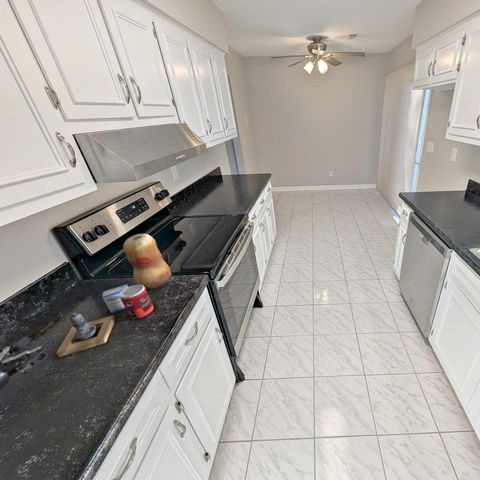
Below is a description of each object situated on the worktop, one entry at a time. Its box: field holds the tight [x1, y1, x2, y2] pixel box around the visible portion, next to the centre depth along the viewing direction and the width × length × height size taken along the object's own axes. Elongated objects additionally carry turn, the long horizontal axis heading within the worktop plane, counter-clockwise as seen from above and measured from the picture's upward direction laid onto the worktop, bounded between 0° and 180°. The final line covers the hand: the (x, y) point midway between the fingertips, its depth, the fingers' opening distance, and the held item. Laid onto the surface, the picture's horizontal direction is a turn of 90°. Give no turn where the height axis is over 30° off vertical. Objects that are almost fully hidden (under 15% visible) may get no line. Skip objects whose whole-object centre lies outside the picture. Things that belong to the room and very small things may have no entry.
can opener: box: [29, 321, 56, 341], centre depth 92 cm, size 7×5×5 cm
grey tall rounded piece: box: [69, 312, 97, 341], centre depth 86 cm, size 6×6×12 cm
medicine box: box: [102, 283, 129, 314], centre depth 101 cm, size 8×4×9 cm, turn 126°
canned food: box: [119, 284, 154, 320], centre depth 96 cm, size 8×8×11 cm
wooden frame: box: [55, 314, 117, 358], centre depth 88 cm, size 13×13×2 cm
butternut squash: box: [122, 233, 172, 290], centre depth 109 cm, size 14×13×25 cm
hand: (41, 338), depth 74 cm, fingers open, 8 cm apart
